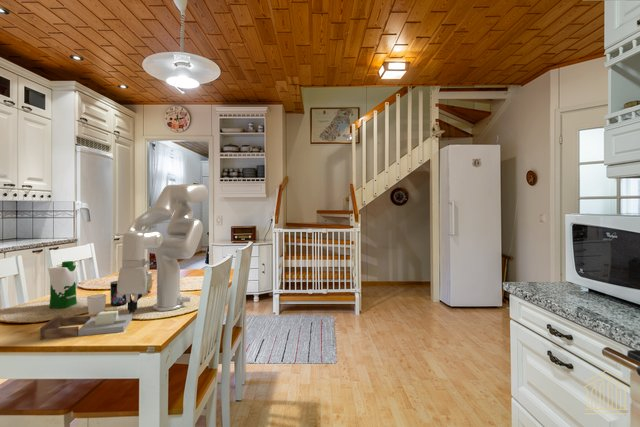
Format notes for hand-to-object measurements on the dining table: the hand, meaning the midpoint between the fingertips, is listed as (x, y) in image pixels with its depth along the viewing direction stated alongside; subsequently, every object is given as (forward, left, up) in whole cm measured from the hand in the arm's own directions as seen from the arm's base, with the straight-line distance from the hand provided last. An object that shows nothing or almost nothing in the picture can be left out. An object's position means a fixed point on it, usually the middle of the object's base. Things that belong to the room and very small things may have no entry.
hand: (132, 311), depth 127 cm
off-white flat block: (+9, -1, -3) cm, 9 cm away
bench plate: (+9, -1, -5) cm, 10 cm away
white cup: (+18, -21, -6) cm, 28 cm away
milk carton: (+35, -35, -5) cm, 49 cm away
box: (+21, -1, -5) cm, 22 cm away
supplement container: (+12, -31, -6) cm, 33 cm away
